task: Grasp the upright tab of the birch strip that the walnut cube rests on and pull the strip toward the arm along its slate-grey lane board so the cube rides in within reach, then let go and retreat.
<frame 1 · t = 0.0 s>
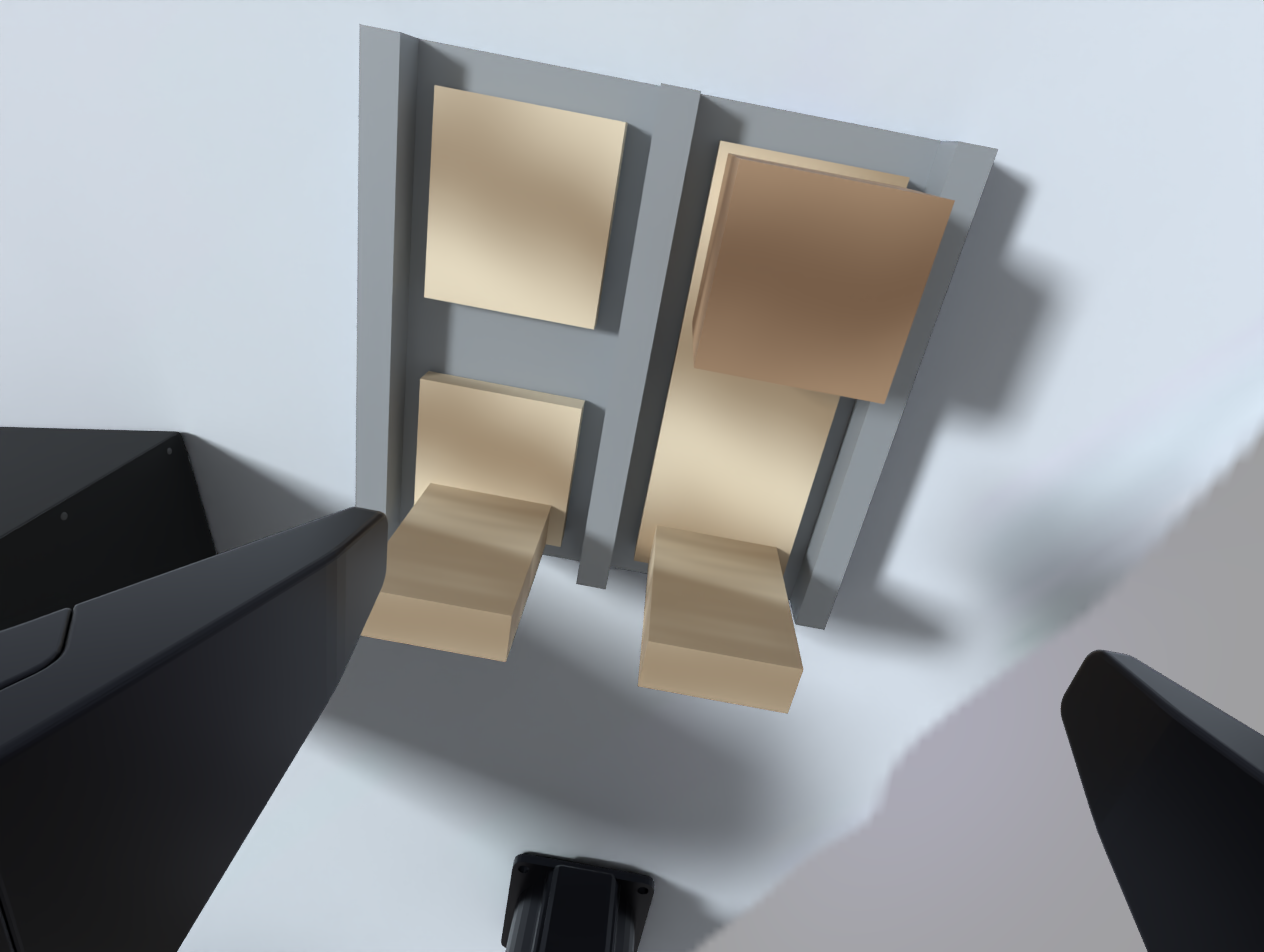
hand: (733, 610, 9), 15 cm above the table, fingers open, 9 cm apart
strip broken: (516, 333, 23), resting on lane board
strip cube: (762, 425, 19), point 4 cm above the table, slide at 0.0 cm, touching cube
cube: (789, 257, 20), point 1 cm above the table, touching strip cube
black rectangular block: (114, 520, 27), on the table
lane board: (633, 356, 23), on the table
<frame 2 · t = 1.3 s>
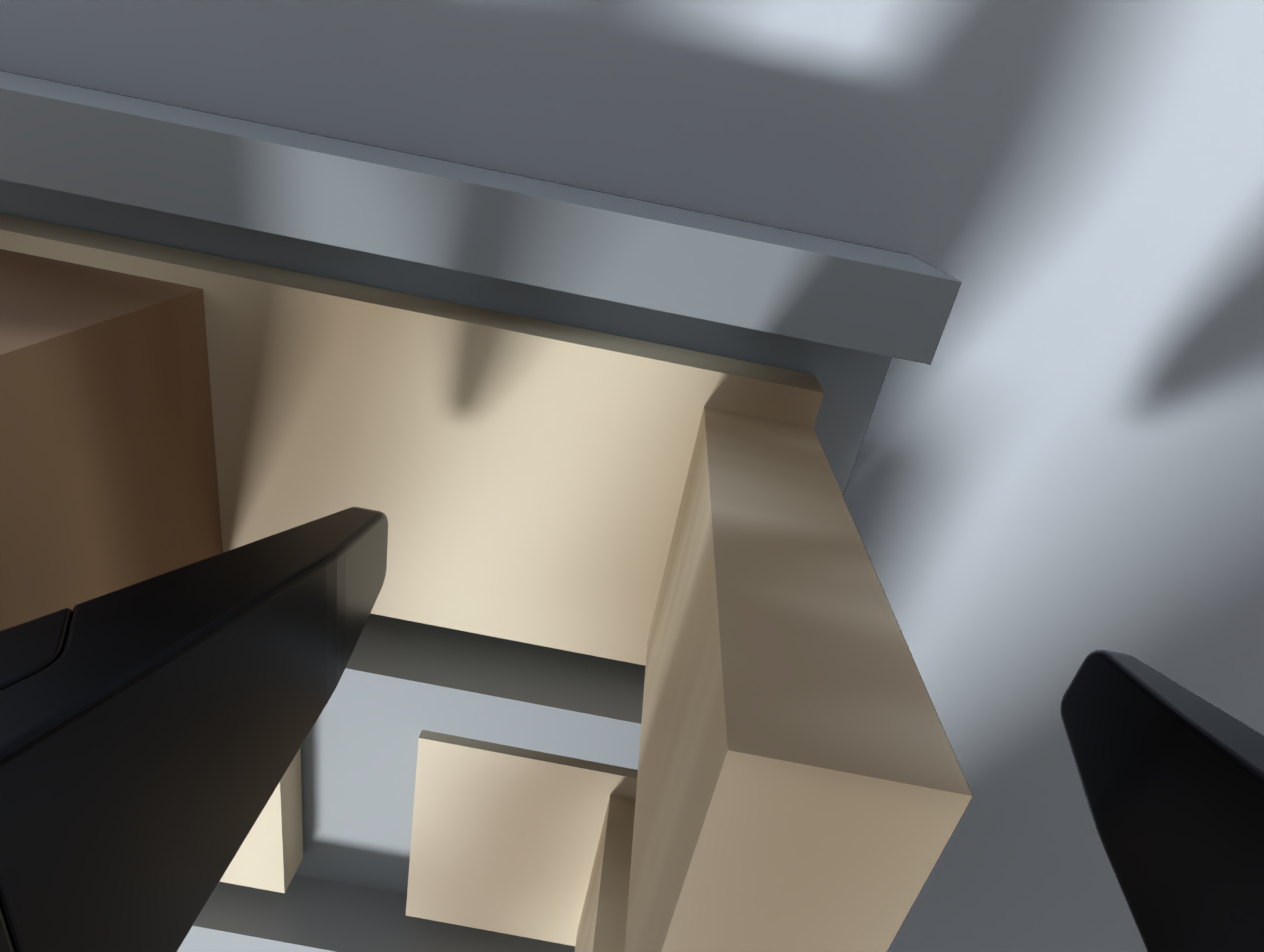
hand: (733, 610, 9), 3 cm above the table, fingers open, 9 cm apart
strip broken: (364, 757, 15), resting on lane board
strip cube: (233, 563, 8), point 4 cm above the table, slide at 0.0 cm, touching cube
cube: (59, 413, 10), point 1 cm above the table, touching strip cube
lane board: (369, 613, 13), on the table
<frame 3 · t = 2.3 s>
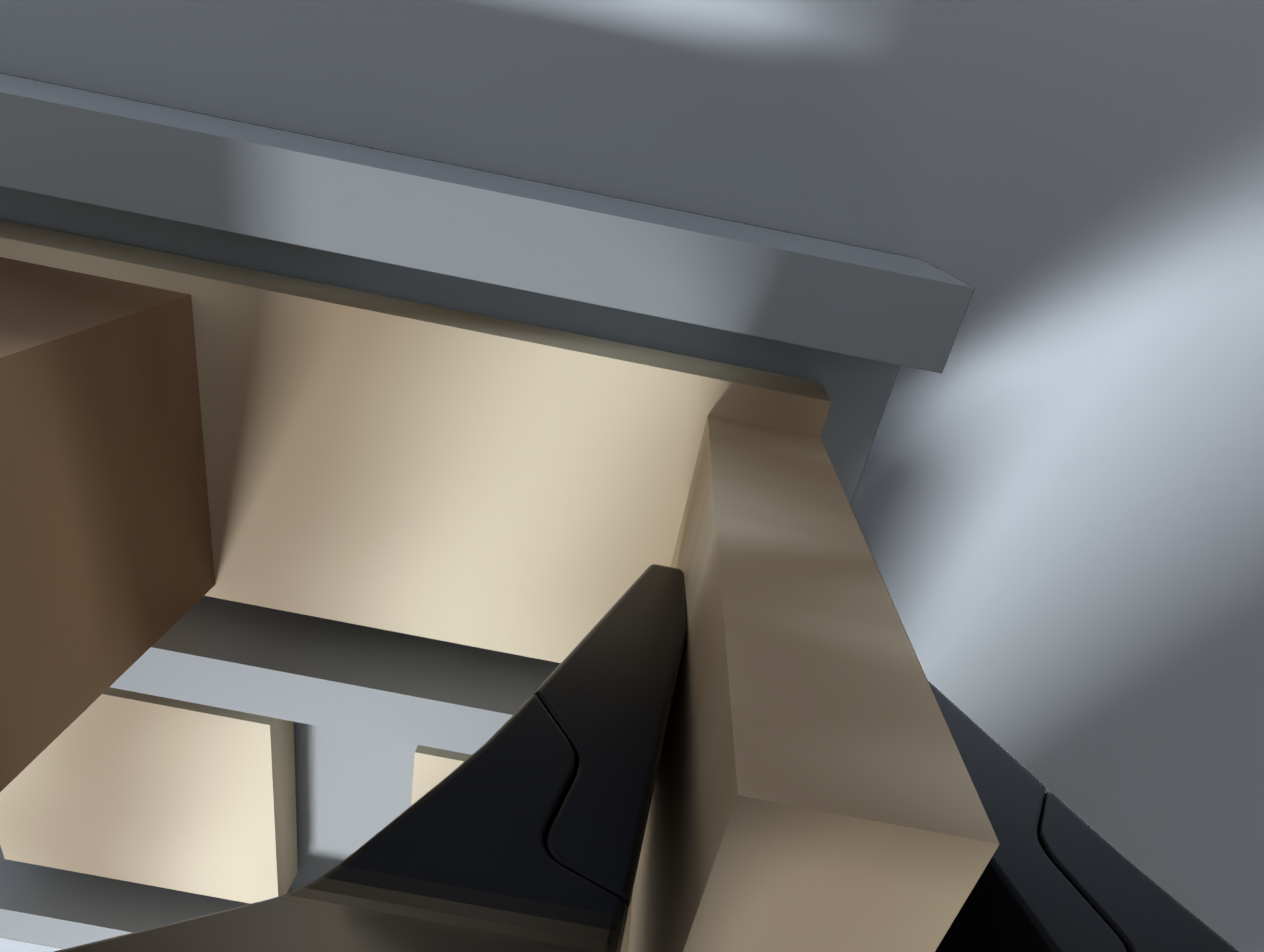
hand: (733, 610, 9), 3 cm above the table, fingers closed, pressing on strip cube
strip broken: (360, 770, 15), resting on lane board
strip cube: (221, 580, 8), point 4 cm above the table, slide at 0.0 cm, touching cube, gripper
cube: (44, 422, 10), point 1 cm above the table, touching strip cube
lane board: (364, 623, 13), on the table
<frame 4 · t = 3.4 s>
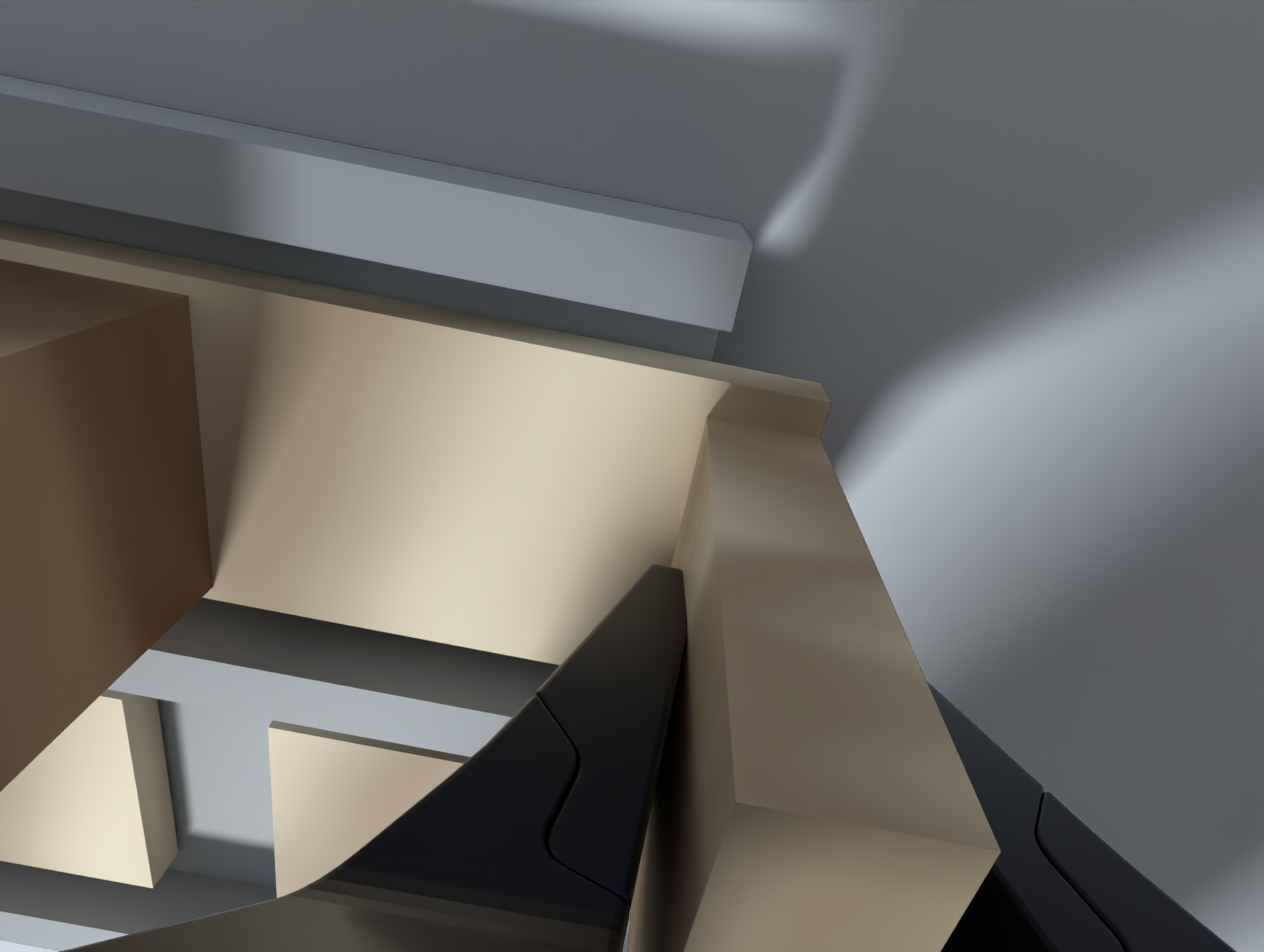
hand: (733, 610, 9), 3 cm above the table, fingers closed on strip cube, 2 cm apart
strip broken: (237, 749, 15), resting on lane board
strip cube: (218, 582, 8), point 4 cm above the table, slide at 2.5 cm, touching cube, gripper
cube: (41, 424, 10), point 1 cm above the table, touching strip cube
lane board: (226, 599, 13), on the table
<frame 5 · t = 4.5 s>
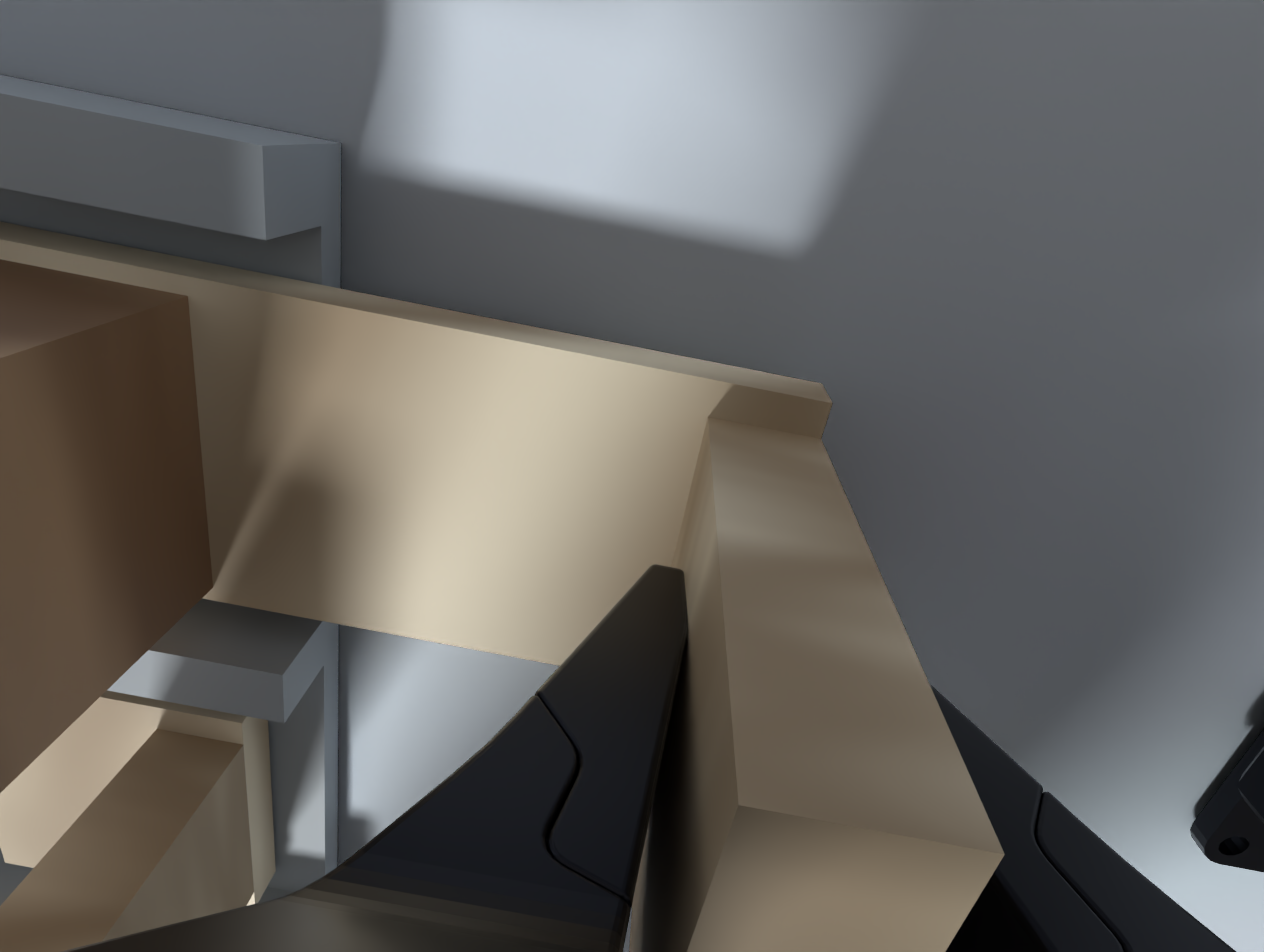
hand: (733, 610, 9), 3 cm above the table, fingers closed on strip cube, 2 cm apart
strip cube: (218, 584, 8), point 4 cm above the table, slide at 8.0 cm, touching cube, gripper
cube: (41, 424, 10), point 1 cm above the table, touching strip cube
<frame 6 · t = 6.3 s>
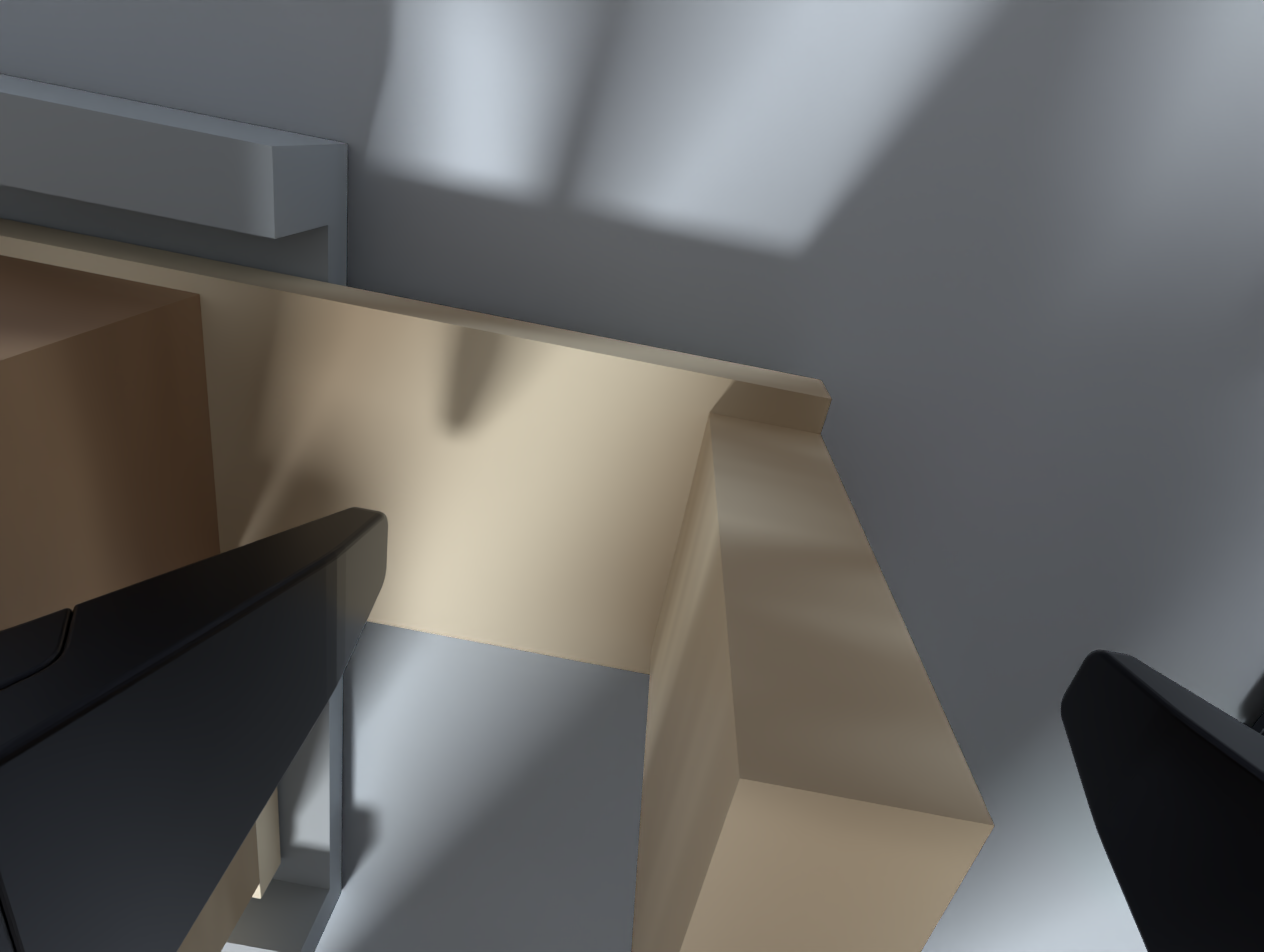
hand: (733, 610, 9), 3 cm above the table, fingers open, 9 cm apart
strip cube: (230, 574, 8), point 4 cm above the table, slide at 8.0 cm, touching cube
cube: (54, 420, 10), point 1 cm above the table, touching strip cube
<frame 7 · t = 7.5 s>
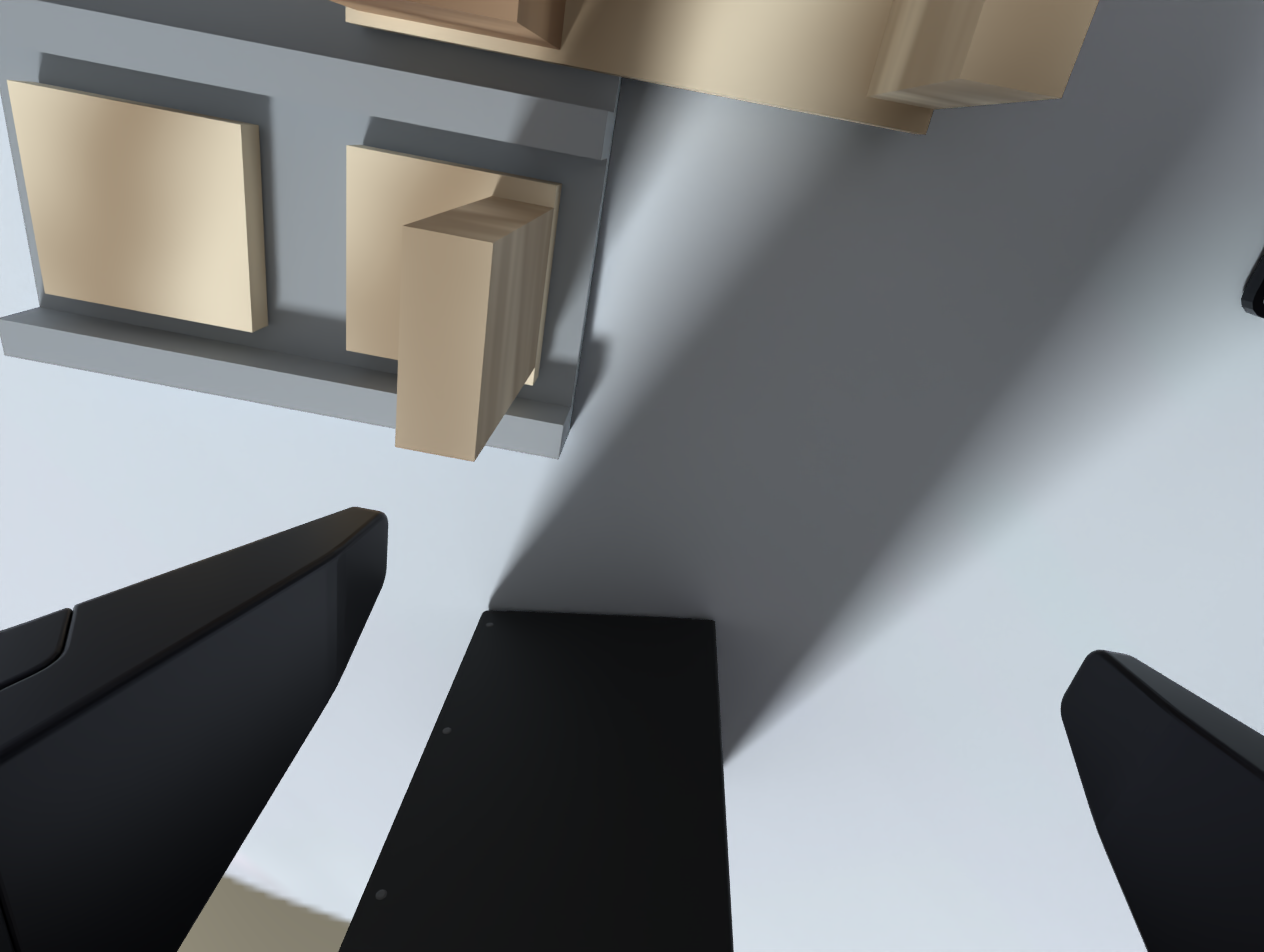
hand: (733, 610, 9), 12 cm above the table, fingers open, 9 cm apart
strip broken: (314, 234, 19), resting on lane board
black rectangular block: (601, 697, 26), on the table
lane board: (311, 77, 18), on the table
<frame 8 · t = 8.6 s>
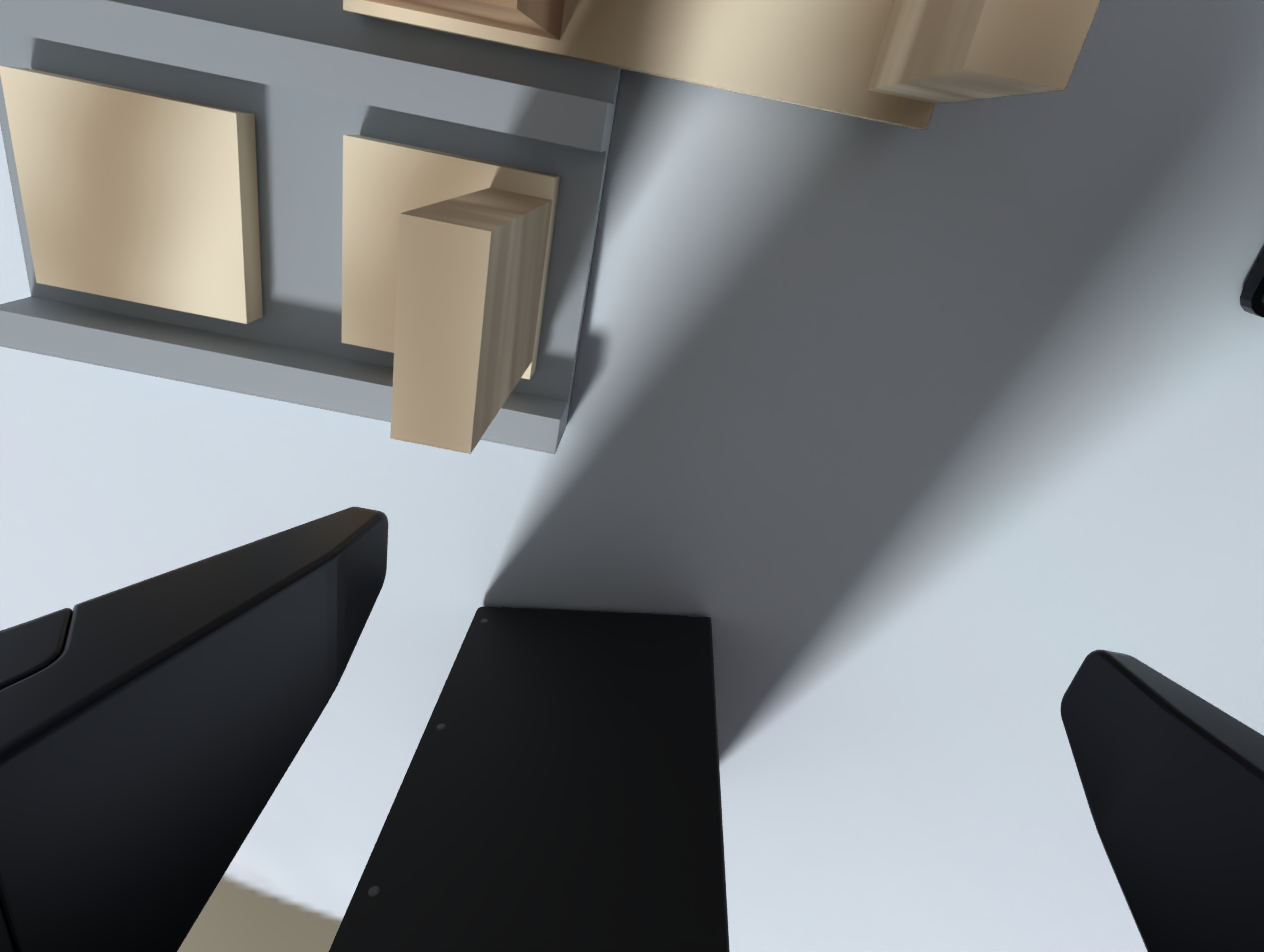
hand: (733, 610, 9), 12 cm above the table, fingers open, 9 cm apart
strip broken: (310, 225, 19), resting on lane board
black rectangular block: (596, 695, 26), on the table
lane board: (308, 66, 18), on the table
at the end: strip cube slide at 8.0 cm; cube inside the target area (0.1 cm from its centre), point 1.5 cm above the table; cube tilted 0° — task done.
